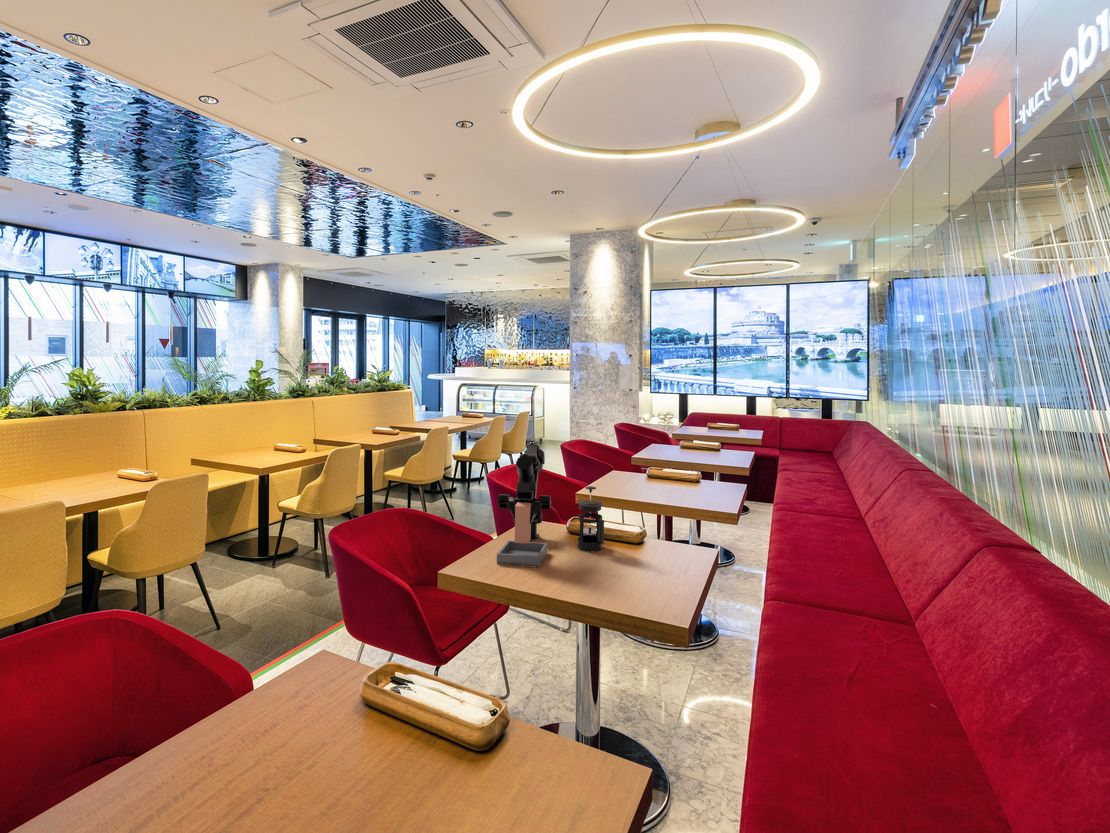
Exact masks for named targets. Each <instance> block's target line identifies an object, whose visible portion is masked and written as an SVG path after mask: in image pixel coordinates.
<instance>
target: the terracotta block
mask: <svg viewBox="0 0 1110 833" xmlns="http://www.w3.org/2000/svg"><path fill="white" fill-rule="evenodd" d="M530 516H531V503H521V502H517V504H515V524H514V541H515V543H529V542H531V540H530V539H531V524H530Z"/></svg>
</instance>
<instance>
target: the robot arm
mask: <svg viewBox="0 0 1110 833" xmlns="http://www.w3.org/2000/svg"><path fill="white" fill-rule="evenodd" d="M545 460H546V459H545V451H543V449H541V447H540V445H538V444H527V445H526V449H525V450H524V453H522V454H520V455H519V456H518V458H517V459H516V461H515V468H516V469H517V470H516V471H517V475H518V482H516V489H515V490H516V492H515V497H516V498H515V497H514V496H510V494H508V493H507V494H505V493H503V494H502V493H501V494H500V493H499V494H498V496H497V506H498V509H506V510H507V511H509V512H510V513H511V515H512V519H513V523H514V525H515V506H516V504H517V502H521V503H531V516H530V524H531V539H536V538H537V537H538V538H539V536H540V534H539V533H537V531H538V527H537V525H538V524H539V525H540V524H542V523H543V515H542V514H543V513H542V510H548V511H549V510H551V508H552V506H551V505H552V500H551V496H550V495H547V494H540V495H539V496H538V497H539V498H537V490H538V480H539V479H538V478H539V473H540V472H542V471H543V467H544V465H545V463H546V461H545ZM538 535H539V536H538ZM538 538H537V539H538ZM537 539H536V540H537Z"/></svg>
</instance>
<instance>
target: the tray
mask: <svg viewBox="0 0 1110 833" xmlns="http://www.w3.org/2000/svg"><path fill="white" fill-rule="evenodd" d="M546 553H547V554H548V543H546V542H534V541H533V542H532V541H530V542H529V543H515V540H507V541H506V542H505V543H504V545H503V546H502V547H501V548H500V550H499V551H498V552H497V553H496V564H497V565H504V564H510V565H509V566H517V565H524V566H523V567H529V566H536V567H535V568H540V566H541V564H542V563H541V562H543V561H544V559H545V558H546V556H547V554H546ZM545 555H546V556H545ZM543 558H544V559H543ZM542 560H543V561H542ZM540 563H541V564H540ZM539 565H540V566H539Z"/></svg>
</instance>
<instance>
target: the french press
mask: <svg viewBox="0 0 1110 833" xmlns="http://www.w3.org/2000/svg"><path fill="white" fill-rule="evenodd" d="M584 489H586V490H589V491H588V492H589V499H588V500H587V499H585V500H581V501H578V502H577V504H578V505H579V506H578V507H579V511H583V512H584V513H579V514H578V516H577V520H578V522H579V529H578V532H579V536H578V537H577V545H576V548H577V549H578V550H580V551H582V552H587V551H589V553H590V552H591V551H595V552H599V551H601V550H602V549H603V544H604V543H605V540H604V539H605V520H604V519H603V515H602V514H600V513H596V512H600V511H602V506H603V504H604V503H603V502H602V501H599V500H592V492H593V490H597V487H596V486H590V485H589V486H585V487H584ZM585 517H589V519H587V518H585ZM592 517H593V518H594V517H595V518H594V519H593V518H592ZM585 524H589V526H588V527H584V526H585ZM592 524H596V527H592V526H591V525H592Z"/></svg>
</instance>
